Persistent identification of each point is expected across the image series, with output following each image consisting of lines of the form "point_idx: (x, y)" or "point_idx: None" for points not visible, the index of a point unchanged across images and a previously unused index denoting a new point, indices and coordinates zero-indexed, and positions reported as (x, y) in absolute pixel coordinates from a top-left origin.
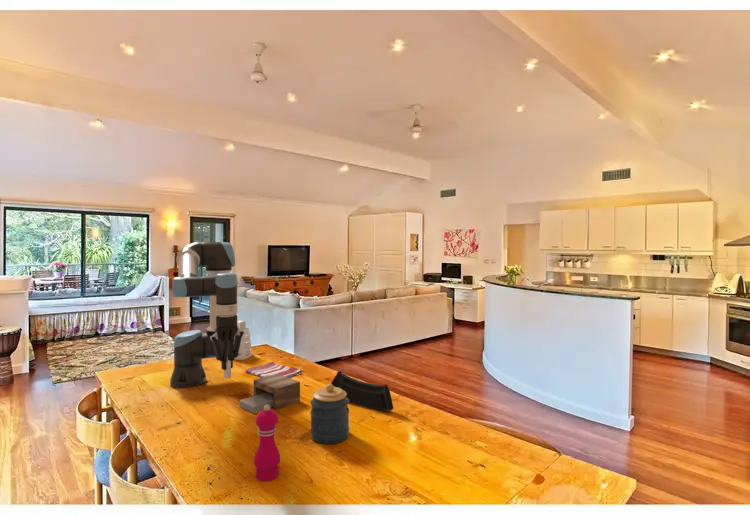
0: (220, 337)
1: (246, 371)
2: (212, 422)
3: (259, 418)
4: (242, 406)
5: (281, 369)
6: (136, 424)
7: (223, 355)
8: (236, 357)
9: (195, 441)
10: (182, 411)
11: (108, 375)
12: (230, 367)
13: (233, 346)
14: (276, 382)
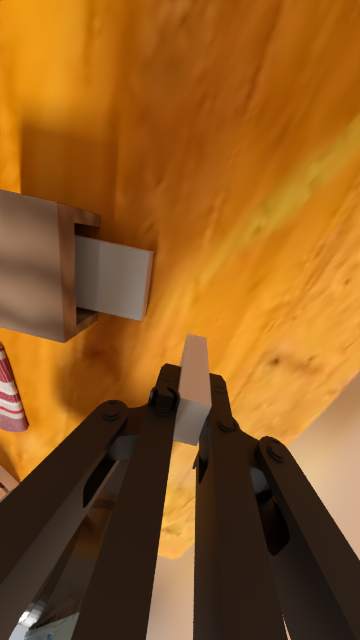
0: None
1: (25, 427)
2: (243, 301)
3: None
4: (146, 304)
5: None
6: (310, 418)
7: (247, 487)
8: (6, 478)
9: (353, 249)
10: None
11: (177, 550)
12: (186, 364)
13: (47, 573)
14: (21, 259)
